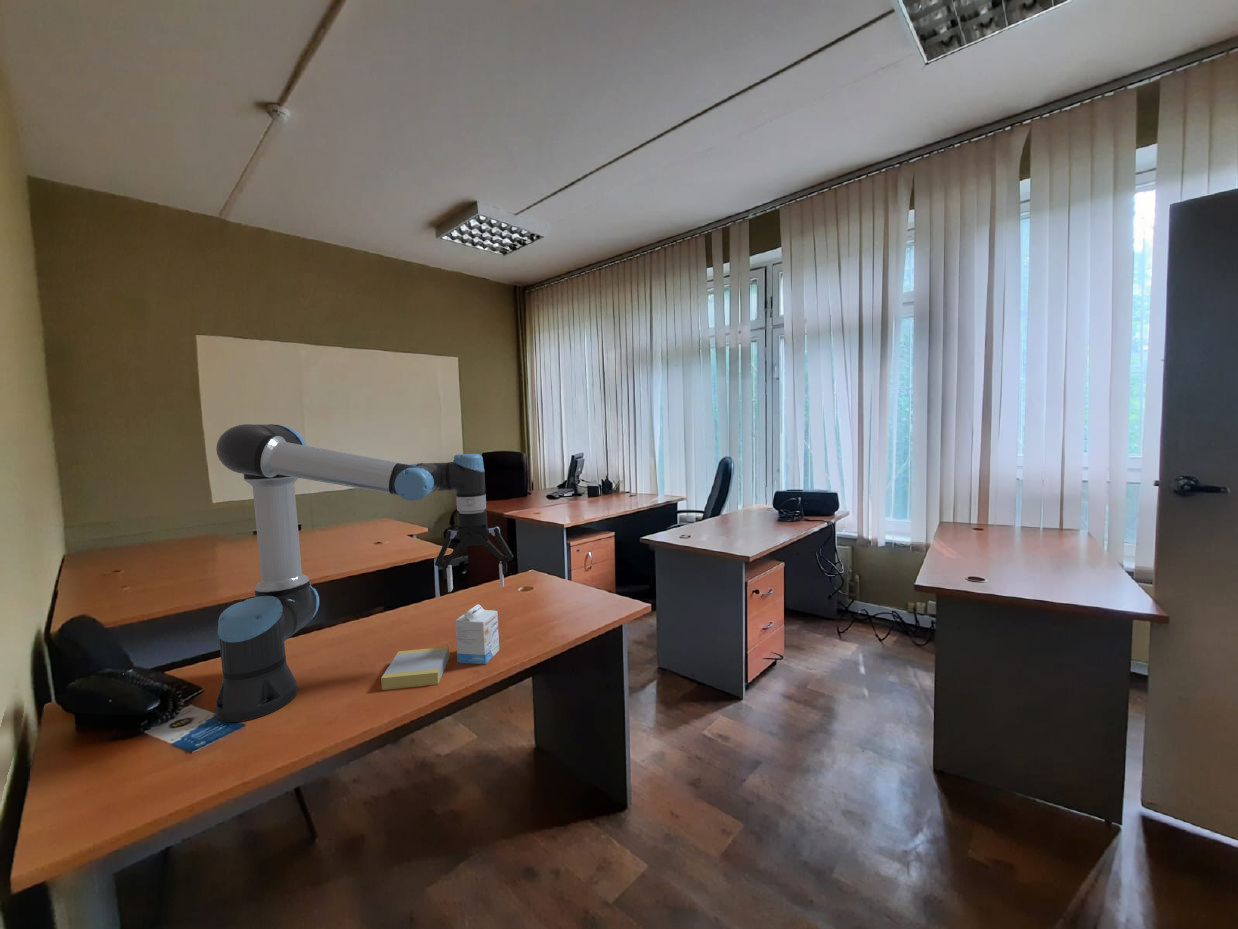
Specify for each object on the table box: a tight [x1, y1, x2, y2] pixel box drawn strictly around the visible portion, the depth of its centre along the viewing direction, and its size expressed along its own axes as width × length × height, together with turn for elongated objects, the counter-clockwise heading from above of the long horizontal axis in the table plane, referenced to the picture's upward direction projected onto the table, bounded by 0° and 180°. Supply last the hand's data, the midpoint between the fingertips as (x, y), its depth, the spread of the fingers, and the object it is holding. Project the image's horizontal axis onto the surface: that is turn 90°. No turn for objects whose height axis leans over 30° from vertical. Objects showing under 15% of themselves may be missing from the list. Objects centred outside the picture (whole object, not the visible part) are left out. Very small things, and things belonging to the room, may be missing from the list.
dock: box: [380, 646, 450, 691], centre depth 122 cm, size 13×14×3 cm
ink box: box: [455, 603, 500, 665], centre depth 130 cm, size 9×8×13 cm
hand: (476, 588), depth 129 cm, fingers open, 13 cm apart
